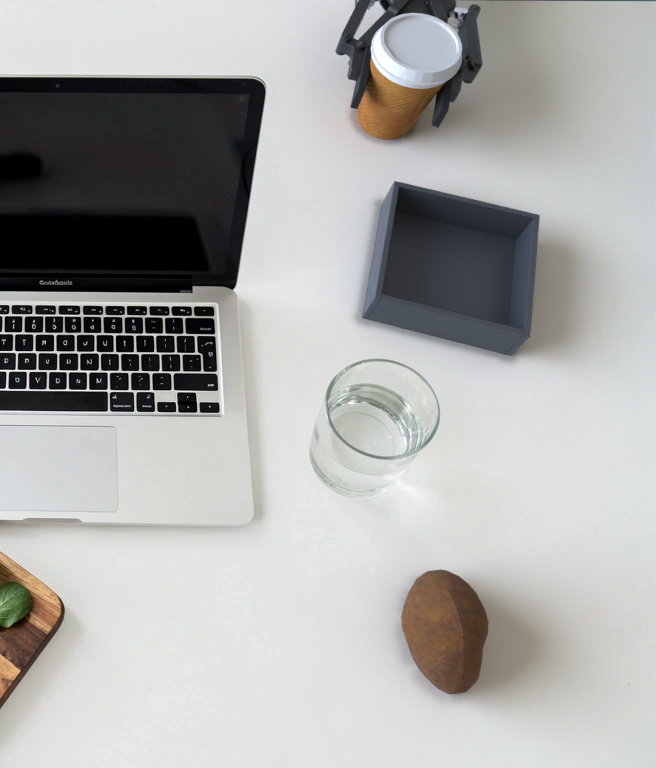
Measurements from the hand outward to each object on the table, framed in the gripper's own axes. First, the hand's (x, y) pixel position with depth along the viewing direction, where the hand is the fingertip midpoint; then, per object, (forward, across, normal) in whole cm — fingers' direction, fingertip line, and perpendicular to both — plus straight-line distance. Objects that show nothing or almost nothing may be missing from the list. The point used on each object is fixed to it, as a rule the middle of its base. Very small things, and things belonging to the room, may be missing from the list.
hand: (398, 108), depth 98 cm
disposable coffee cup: (-5, 0, -7) cm, 9 cm away
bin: (+15, -9, -7) cm, 19 cm away
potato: (+53, -12, -7) cm, 55 cm away
